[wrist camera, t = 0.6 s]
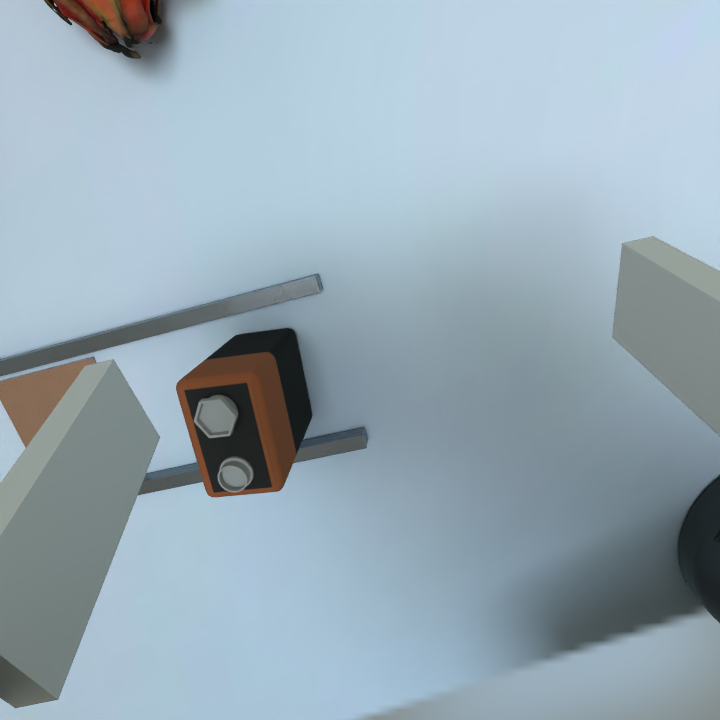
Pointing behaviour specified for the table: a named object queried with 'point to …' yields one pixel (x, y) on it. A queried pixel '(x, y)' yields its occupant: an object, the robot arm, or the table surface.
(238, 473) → the battery
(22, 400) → the rail
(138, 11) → the dragon fruit
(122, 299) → the table surface
